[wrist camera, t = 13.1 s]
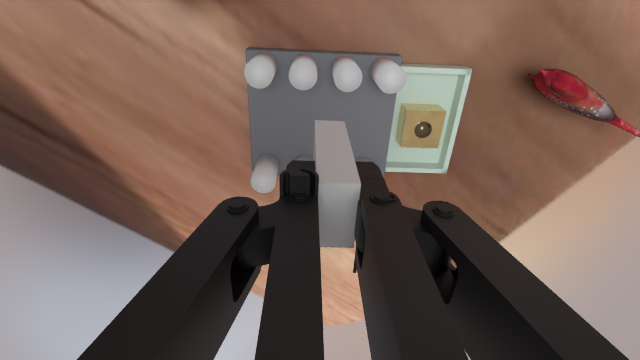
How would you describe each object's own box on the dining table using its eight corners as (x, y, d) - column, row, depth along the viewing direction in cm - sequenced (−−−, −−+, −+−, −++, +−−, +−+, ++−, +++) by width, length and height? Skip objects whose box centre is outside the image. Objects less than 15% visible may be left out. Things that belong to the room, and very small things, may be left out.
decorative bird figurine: (508, 45, 38) (566, 59, 30) (616, 112, 43) (695, 141, 34) (491, 69, 40) (543, 89, 31) (597, 131, 44) (669, 165, 35)
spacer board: (254, 166, 45) (245, 193, 39) (248, 47, 38) (236, 56, 32) (381, 170, 46) (391, 197, 40) (398, 53, 39) (414, 64, 32)
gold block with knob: (395, 138, 43) (400, 147, 41) (401, 103, 41) (407, 110, 38) (430, 140, 43) (438, 148, 41) (438, 104, 41) (447, 111, 39)
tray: (382, 164, 45) (385, 171, 43) (396, 63, 39) (401, 66, 37) (440, 165, 46) (446, 173, 44) (464, 65, 39) (472, 69, 38)
